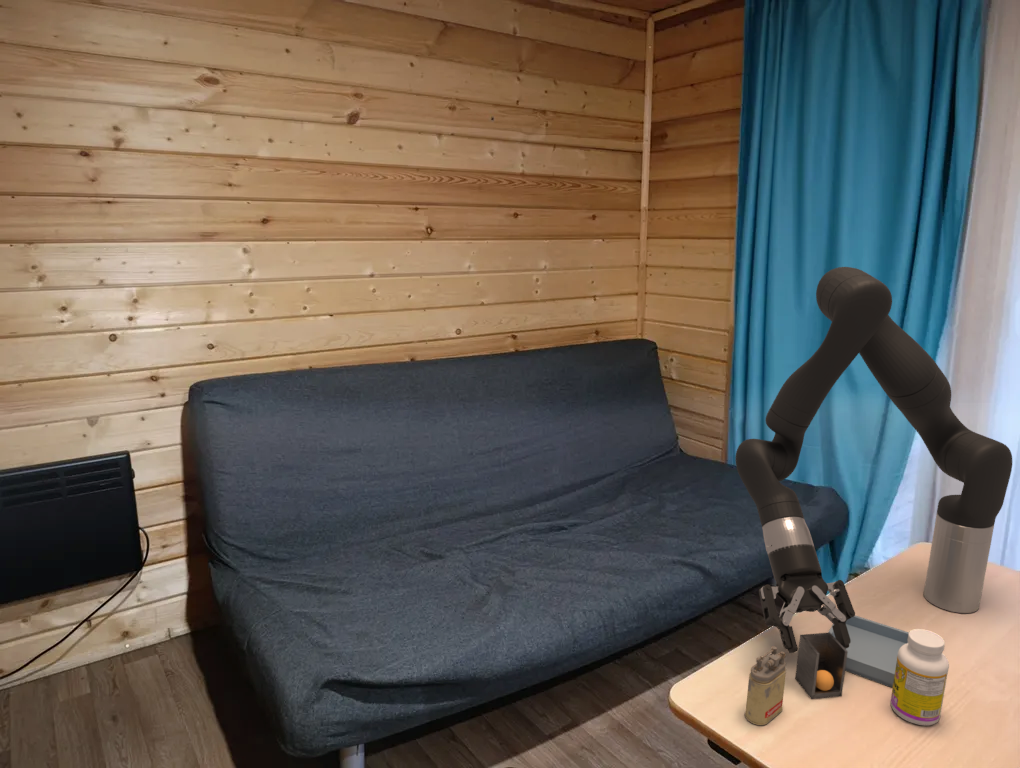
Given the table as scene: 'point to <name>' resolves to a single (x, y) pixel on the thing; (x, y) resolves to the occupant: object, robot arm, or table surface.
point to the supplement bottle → (920, 678)
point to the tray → (873, 649)
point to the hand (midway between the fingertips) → (819, 650)
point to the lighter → (766, 688)
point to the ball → (824, 680)
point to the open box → (820, 663)
